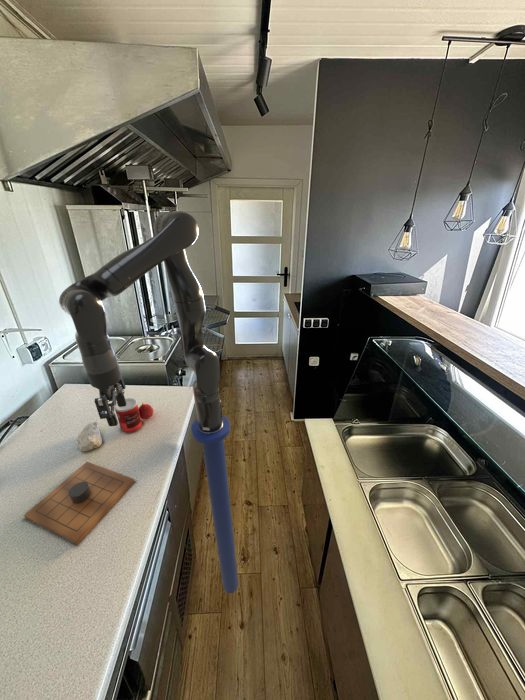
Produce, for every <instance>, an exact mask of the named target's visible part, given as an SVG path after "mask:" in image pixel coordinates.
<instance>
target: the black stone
mask: <svg viewBox="0 0 525 700" xmlns="http://www.w3.org/2000/svg"><path fill="white" fill-rule="evenodd" d="M68 494H69V496H70V499H71V501H72V502H73V503H75V504H78V503H82V502H84V501H85V500H87V499H88V498H89V496H90V494H91V490H90V488H89V485H88V483H87V482H79V483H77V484H75V485H74V486H72V487H71V488H70V490H69V493H68Z"/></svg>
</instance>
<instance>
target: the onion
mask: <svg viewBox="0 0 525 700" xmlns="http://www.w3.org/2000/svg"><path fill="white" fill-rule="evenodd" d="M138 408H139V412H140V416H141V420H148V419H151V417H152V416H153V415H154V408H153V406H152V405H150V404H149V403H145V402H142V403H141V405H140V406H138Z"/></svg>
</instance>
